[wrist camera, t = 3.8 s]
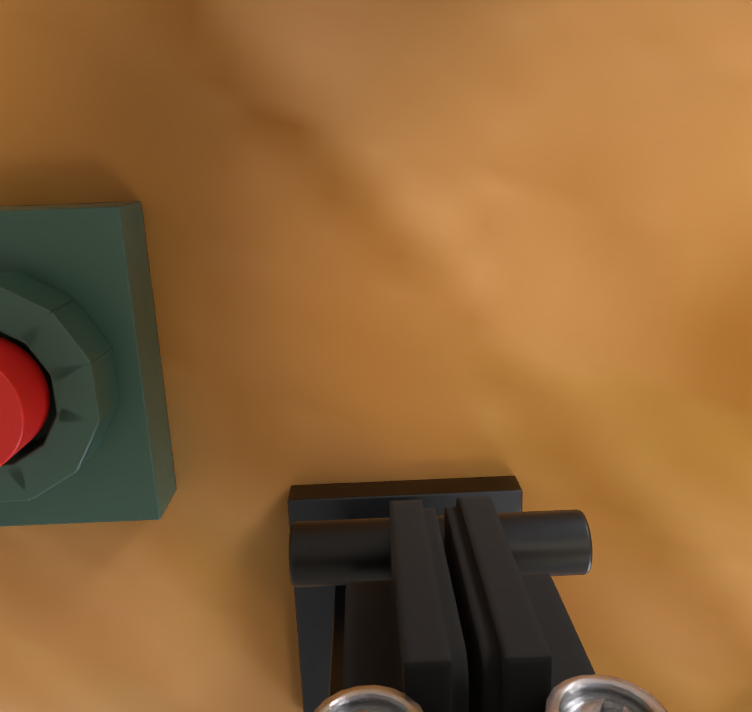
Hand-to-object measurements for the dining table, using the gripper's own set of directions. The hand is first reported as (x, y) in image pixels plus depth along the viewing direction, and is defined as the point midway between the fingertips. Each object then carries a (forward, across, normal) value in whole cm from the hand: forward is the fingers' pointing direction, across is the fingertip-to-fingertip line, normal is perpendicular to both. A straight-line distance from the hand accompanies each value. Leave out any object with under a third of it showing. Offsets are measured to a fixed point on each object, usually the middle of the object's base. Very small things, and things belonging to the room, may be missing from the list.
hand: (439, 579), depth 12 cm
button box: (+13, +12, -1) cm, 18 cm away
